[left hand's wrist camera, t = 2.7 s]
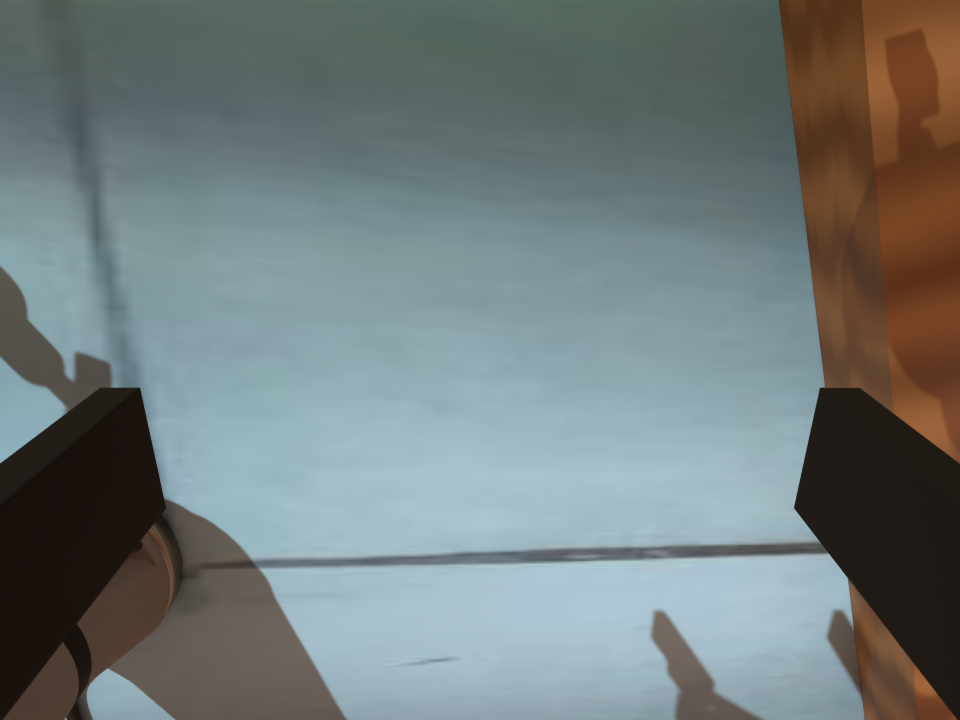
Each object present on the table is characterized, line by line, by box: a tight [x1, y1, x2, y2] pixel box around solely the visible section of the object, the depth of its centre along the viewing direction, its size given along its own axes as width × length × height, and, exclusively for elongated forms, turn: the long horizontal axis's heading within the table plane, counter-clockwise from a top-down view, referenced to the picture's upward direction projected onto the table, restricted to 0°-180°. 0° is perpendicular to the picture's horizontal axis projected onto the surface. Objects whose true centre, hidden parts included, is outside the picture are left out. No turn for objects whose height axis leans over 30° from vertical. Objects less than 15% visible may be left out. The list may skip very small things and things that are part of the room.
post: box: [779, 0, 960, 720], centre depth 37 cm, size 72×6×8 cm, turn 17°
